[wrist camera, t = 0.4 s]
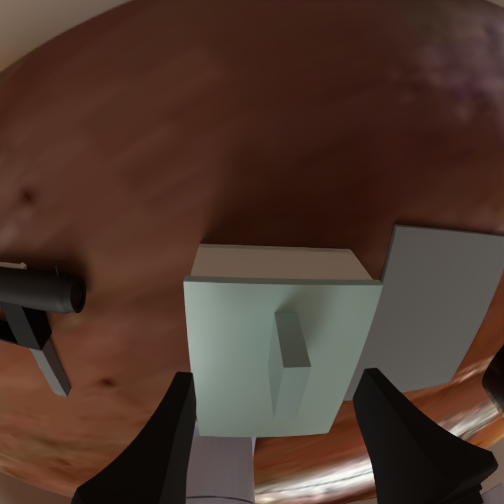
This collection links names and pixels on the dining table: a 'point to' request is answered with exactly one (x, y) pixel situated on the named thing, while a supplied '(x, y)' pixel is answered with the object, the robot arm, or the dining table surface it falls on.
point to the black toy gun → (38, 313)
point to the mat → (430, 304)
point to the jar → (495, 381)
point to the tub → (277, 262)
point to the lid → (274, 351)
